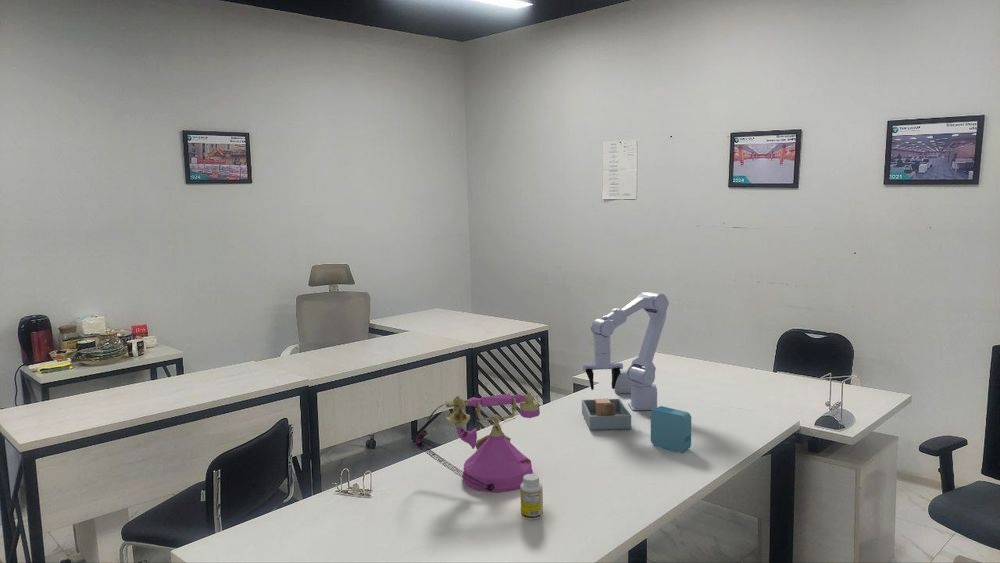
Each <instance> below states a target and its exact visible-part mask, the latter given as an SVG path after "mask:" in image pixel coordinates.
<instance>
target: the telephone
mask: <svg viewBox="0 0 1000 563" xmlns="http://www.w3.org/2000/svg"><path fill="white" fill-rule="evenodd" d="M534 396H535V395H533V394H532V391H527V392H526V395H525V394H520V393H517V394H512V395H511V393H503V394H497V395H489V396H488V395H487V396H481V397H480V398H479V397H475V396H473V397H471V398H470V397H469V398H468V399H462V398H461V397H460V395H458V394H457V395H456V396H455V398H453V400H452V401H451V400H449V401H445V403H444V404H441V405H439V406H438V407H437V408H436V409H434V410H433V412H432V413H431V414H430V416H429V418H428V419H427V422H426V424H425V427H424V430H423V429H422V431H420V433H418V434H417V436H416V437H415V444H416V446H417V447H418V449H420V450H421V451H423V452H425V454H427V455H428V456H430V457H431V458H432V459H434V460H435V461H437V462H438V463H440V464H441V465H443V466H444V467H445V468H447V469H449V471H452V472H453V474H455V475H458V476H460V478H462V479H463V481H464V482H465V483H466V485H467V486H468V487H469V488H472V489H474V490H477V491H481V492H489V493H490V492H491V493H505V492H506V493H507V492H512V491H516V490H519V489H520V486H521V484H522V483H523V476H524V475H526V474H535V473H534V470H533V466H532V461H531V459H530V458H528V457H527V456H526V455H525V454H524V453H522V452H521V451H520V450H519V449H518V448H517V447H516V446H515V445H514V444H512V443H511V437H509V436H508V435H506V434H505V433H504V432H503V430H502V427H501V426H502V425H503V424H504V423H505V422H509V421H512V420H515V419H516V418H517V417H514V416H515V412H516V411H517V404H519V415H520V417H523V418H527V419H531V418H532V419H533V418H536V417H539V416H540V415H541V414H540V410H541V409H540V403H539V400H536V399H535V397H534ZM506 405H511V406H510V407H511V415H506V416H500V415H498V414H494V415H493V417H491V416H490V417H481V413H482V412H481V410H482V408H485V407H495V406H506ZM443 406H445V407H446V408H454V409H453V411H452V412H451V413H450V414H449V415H447V416H446V417H445V420H446V421H447V423H448V424H449V425H454V426H455V428H456V433H457V435H458V438H459V439H461V441H462V442H465V443H467V444H469V445H470V446H469V447H471V449H472V450H475V449H476V451H474V453H472V454H471V455H470V456H469V457H468V458H467V459H466V460H465V462H464V463H463V471H462V470H461V469H459V468H458V467H456V466H454V465H453V464H451V463H450V462H449V461H447V460H446V459H444V458H442V457H441V456H440V455H438V454H437V453H436V452H435V451H433V450H432V449H430V448H428V447H427V446H426V445H425V444H423V443H422V440H423V438H425V436H427V435H428V431H427V430H426V428H427V425H428V423H429V421H430V419H431V418H432V416H433V415H434V413H435V412H436V411H437V410H438V409H440V408H441V407H443ZM466 406H469V407H474V408H475V412H476V415H477V418H478V419H479V420H476V422H479V423H483V424H484V423H486V424H487V423H488V424H490V425H491V426H492V427H491V432H490V433H489V434H486V435H485V436H483V437H480V438H479V439H478V432H477V431H478V430H477V428H476V427H475V428H473V429H472V430H466V429H464V428H463V427H462V426H463V425H467V424H468V423H469V421H470V420H471V415H470V414H467V413H466V412H465V411H464V410H463V409H462V407H466ZM481 407H482V408H481ZM510 418H511V419H510ZM502 419H508V420H504V421H503V422H502V423H501V424H500V420H502ZM490 421H493V422H494V423H493V424H492V423H490Z"/></svg>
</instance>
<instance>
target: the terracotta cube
mask: <svg viewBox="0 0 1000 563" xmlns="http://www.w3.org/2000/svg"><path fill="white" fill-rule="evenodd" d="M594 399H595V413H596V415H597V416H601V404H602V403H611V402H610V401H609V399H610V398H607V397H606V398H594Z"/></svg>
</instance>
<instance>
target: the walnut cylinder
mask: <svg viewBox="0 0 1000 563" xmlns="http://www.w3.org/2000/svg"><path fill="white" fill-rule="evenodd" d="M601 416H615V404H613V403H602V404H601Z"/></svg>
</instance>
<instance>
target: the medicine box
mask: <svg viewBox="0 0 1000 563" xmlns="http://www.w3.org/2000/svg"><path fill="white" fill-rule="evenodd" d="M627 370H628V369H627ZM627 370H623V369H620V371H621V372H620V374H619V376H618V378H617V381H616V384H615V389H614V393H615V394H631V383H630V380H629V379H628V377H627Z"/></svg>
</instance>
